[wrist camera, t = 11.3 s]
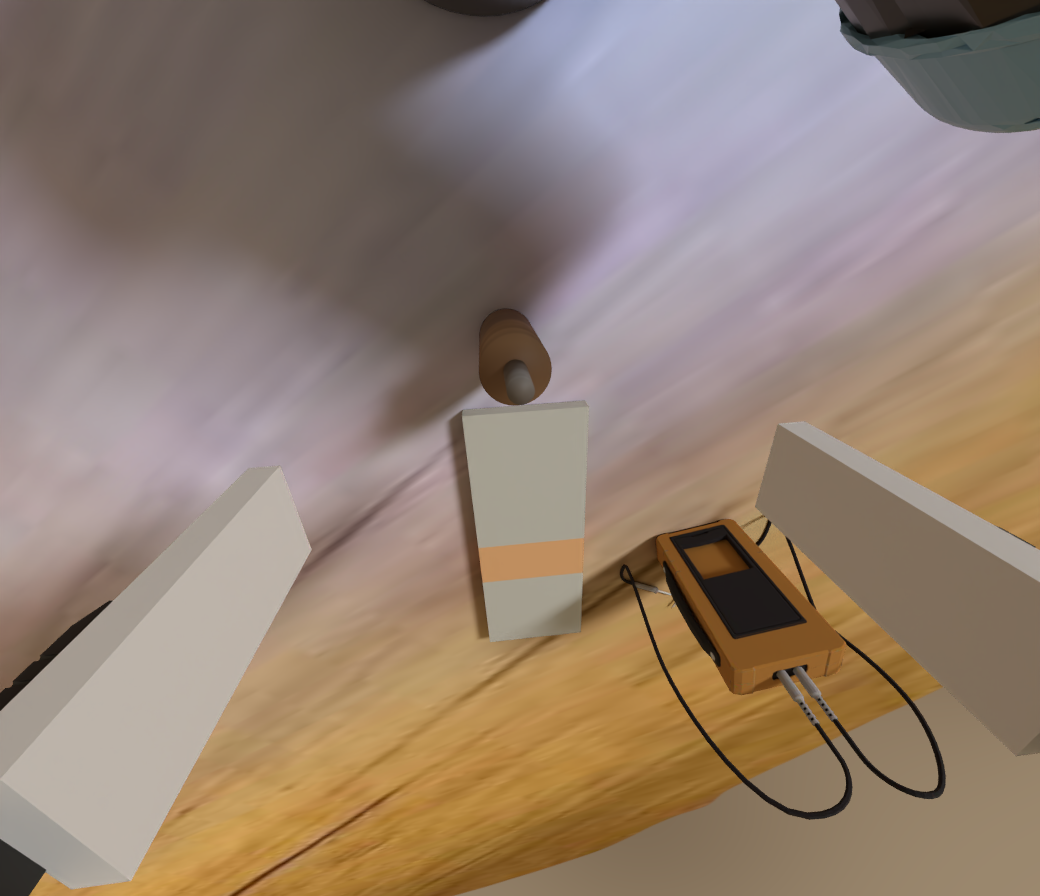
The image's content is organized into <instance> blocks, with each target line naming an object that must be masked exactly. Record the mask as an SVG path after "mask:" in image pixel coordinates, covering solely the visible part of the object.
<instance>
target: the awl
mask: <svg viewBox="0 0 1040 896" xmlns="http://www.w3.org/2000/svg"><path fill="white" fill-rule="evenodd" d="M551 370H552V368H551V361H550V358H549V355H548V353H547V351H546V349H545V348H544V346H543V344H542V343H541V341H540V339H539V338H538V336H537V334H536V333H535V331H534V329H533V328H532V326H531V324H530V322H529V321H528V319H527V318H526V317H525V316H524V315H523V314H521V313H520V312H518V311H516V310H512V309H500V310H497V311H495V312H493V313H491V314H490V315H489V316H488V317H487V318H486V319H485V320H484V322H483V324H482V326H481V329H480V335H479V376H480V380H481V383H482V386H483V388H484V389H485V391H486V392H487V393H488V394H489V395H490V396H491V397H492V398H493V399H495V400H496V401H498V402H500V403H503V404H507V405H524V404H527V403H529V402H531V401H533V400H535V399H536V398H537V397H539V396H540V395H541V394H542V393H543V392H544V390H545V389H546V387H547V385H548V383H549V381H550V378H551Z"/></svg>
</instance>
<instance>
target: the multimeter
mask: <svg viewBox="0 0 1040 896" xmlns="http://www.w3.org/2000/svg"><path fill="white" fill-rule="evenodd" d="M771 523H772V522H770V521H769V522H768V525H767V527H766V530H765V532H764V534H763V536H762V537H761V539H760V540H759V542H758V543H757V544H755V543H754V542H753V540H752V539H751V538H750V537H749V536H748V535H747V534H746V533H745V532H744V531H743V530H742V529H741V528H740V526H739V525H738V524H737V523H736V522H735V521H734V520H731V519H725V520H720V521H718V522H717V523H713V524H708V525H704V526H700V527H696V528H692V529H688V530H683V531H679V532H675V533H671V534H668V533H666V534H663V535H659V536H658V537H657V539H656V547H657V558H658V561H659V562H660V564H661V566H662V568H663V570H664V573H665V574H666V582H667V584H668V587H669V589H670V592H671V594H670V593H667V592H664V591H660V590H658V588H657V587H652V586H648V585H645V584H641V583H637V582H634V579H633V577H632V574H631V572H630V570H629V568H628V566H627V565H625V564H624V565H623V566H622V568H621V571H620V577H621V579H622V580H623V581H624V582H626V583H628V584H631V585H633V588H634V591H635V594H636V597H637V600H638V603H639V606H640V609H641V612H642V615H643V618H644V621H645V624H646V627H647V630H648V633H649V636H650V639H651V641H652V644H653V647H654V650H655V652H656V655H657V657H658V660H659V662H660V664H661V667H662V669H663V671H664V673H665V675H666V677H667V679H668V681H669V683H670V685H671V686H672V688H673V690H674V692H675V693H676V695H677V697H678V699H679V700H680V702H681V704H682V705H683V707H684V708H685V710H686V711H687V713H688V715H689V716H690V718H691V719H692V721H693V722H694V724H695V725H696V726H697V728H698V729H699V731H700V732H701V733H702V735H703V736H704V738H705V739H706V740H707V742H708V743H709V744H710V745H711V747H712V748H713V749H714V750H715V752H716V753H717V754H718V755H719V756H720V758H721V759H722V760H723V761H724V763H725V764H726V765H727V766H728V767H729V768H730V769H731V770H732V771H733V772H734V773H735V774H736V775H737V776H738V777H739V778H740V779H741V780H742V781H743V783H744V784H746V785H747V786H748V787H749V788H750V789H752V790H753V791H754V792H755V793H756V794H758V795H759V796H760V797H761V798H762V799H764V800H765V801H766V802H768V803H769V804H771V805H773V806H775V807H777V808H778V809H780V810H782V811H783V812H785V813H787V814H789V815H792V816H797V817H801V818H805V819H809V820H810V819H822V818H827V817H830V816H833V815H836V814H838V813H839V812H841V811H842V810H844V808H845V807H846V806H847V805H848V803H849V801H850V798H851V795H852V780H851V776H850V772H849V769H848V767H847V765H846V763H845V761H844V759H843V758H842V757H841V755H840V754H839V752H838V751H837V749H836V748H835V747H834V745H833V744H832V742H831V741H830V739H829V738H828V736H827V735H826V734H825V732H824V731H823V729H822V728H821V726H820V725H819V721H818V720H817V719H816V717H815V716H814V714H812V711H811V710H810V709H809V707H808V706H807V704H805V701H804V700H803V699H804V697H803V695H802V694H801V692H800V691H799V690H798V688H797V687H796V685H795V684H794V683H795V682H799V681H800V682H801V683H802V685H803V686H804V688H805V689H806V690H807V692H808V693H809V694H810V696H811V697H812V698H815V700H816V701H817V702H818V704H819V705H820V706H821V708H822V709H823V711H824V712H825V713H826V715H827V716H828V717H829V719H830V720H831V721H832V722H834V724H835V725H836V726H837V728H838V729H839V730H840V732H841V733H842V735H843V736H844V737H845V739H846V740H847V741H848V743H849V744H850V745H851V747H852V748H853V750H854V751H855V752H856V754H857V755H858V756H859V758H860V759H861V760H862V761H863V763H864V764H865V765H866V766H867V767H868V768H869V769H870V770H871V771H872V772H873V773H875V774H876V775H877V776H878V777H879V778H881V779H882V780H884V781H885V782H886V783H888V784H889V785H891V786H893V787H895V788H896V789H898V790H900V791H902V792H905V793H906V794H909V795H912V796H915V797H919V798H924V799H934V798H938V797H939V796H941V794H943V791H944V788H945V779H946V778H945V769H944V764H943V760H942V756H941V753H940V751H939V748H938V745H937V742H936V740H935V738H934V736H933V734H932V732H931V729H930V728H929V726H928V724H927V722H926V721H925V719H924V717H923V716H922V714H921V713H920V711H919V710H918V708H917V707H916V705H915V704H914V703H913V702H912V700H911V699H910V698H909V697H908V695H907V694H906V693H905V692H904V691H903V690H902V689H901V688H900V687H899V686H898V684H897V683H896V682H895V681H894V680H893V679H892V678H891V677H890V676H889V675H888V674H887V673H885V672H884V671H883V670H882V669H881V668H880V667H879V666H878V665H877V664H876V663H874V662H873V661H872V660H871V659H870V658H869V657H868V656H866V655H865V654H864V653H863V652H862V651H860V650H859V649H858V648H857V647H855V646H854V645H853V644H851V643H850V642H849V641H848V640H846V639H845V638H844V637H843V636H841V635H840V634H839V633H838V632H837V631H835V630H834V629H833V628H832V627H831V626H830V625H829V623H828V622H827V621H826V620H825V619H824V618H823V617H822V616H821V615H820V614H819V612H818V611H817V610H816V607H815V605H814V603H813V600H812V597H811V595H810V592H809V589H808V586H807V584H806V581H805V578H804V575H803V573H802V570H801V567H800V564H799V562H798V559H797V556H796V553H795V551H794V548H793V545H792V543H791V541H790V540H789V539H788V538H787V537H786V536H785V537H786V539H787V542H788V545H789V547H790V550H791V552H792V555H793V558H794V561H795V564H796V566H797V569H798V572H799V575H800V578H801V581H802V583H803V586H804V589H805V592H806V595H807V597H808V600H809V601H808V600H807V599H806V598H805V597H804V596H803V595H802V594H801V593H800V592H799V590H798V589H797V588H796V587H795V586H794V585H793V584H792V583H791V582H790V581H789V579H788V578H787V577H786V576H785V575H784V574H783V573H782V572H781V571H780V570H779V568H778V567H777V566H776V565H775V564H774V563H773V562H772V561H771V560H770V559H769V558H768V557H767V555H766V554H765V553H763V551H762V550H761V549H760V548H759V547H758V546H759V545H760V544H761V543H762V541H763V540H764V538H765V537H766V535H767V533H768V531H769V528H770V526H771ZM624 568H626V570H627V572H628V574H629V577H630V579H631V581H628V580H626V579H625V578H624V577H623V571H624ZM637 588H640V589H644V590H648V591H651V592H654V593H657V592H660V593H664V594H667V595H672V597H673V600H674V601H675V603H674V604H673V606H672V607H671V608H673V607H674V606H675V605H677V607H678V609H679V610H680V612H681V614H682V616H683V618H684V619H685V621H686V623H687V625H688V627H689V628H690V630H691V632H692V633H693V635H694V636H695V638H696V639H697V641H698V642H699V644H700V645H701V647H702V648H703V650H704V651H705V652H706V653H707V654H708V655H709V656H710V657H711V658H712V659H713V661H714V663H715V665H716V667H717V668H718V670H719V672H720V674H721V676H722V677H723V679H724V681H725V683H726V685H727V686H728V688H729V690H730V691H731V692H732V693H733V694H738V695H745V694H751V693H753V692H755V691H759V690H764V689H768V688H773V687H777V686H781V685H784V687H785V688H786V690H787V691H788V693H789V694H790V696H791V697H792V699H793V700H794V701H795V702H797V703H798V704H799V706H800V707H801V709H802V710H803V711H804V713H805V714H806V716H807V717H808V719H809V720H810V722H811V723H812V725H813V726H815V727H816V728H817V730H818V731H819V733H820V734H821V735H822V737H823V738H824V740H825V741H826V743H827V744H828V746H829V747H830V748H831V750H832V751H833V753H834V754H835V756H836V757H837V759H838V760H839V762H840V763H841V765H842V767H843V770H844V772H845V777H846V790H845V793H844V796H843V798H842V799H841V801H840V802H839V803H838V804H837V805H835V806H834V807H832V808H830V809H827V810H824V811H820V812H808V813H807V812H803V811H798V810H794V809H790V808H787V807H785V806H784V805H782V804H780V803H778V802H777V801H775V800H773V799H771V798H769V797H768V796H767V795H765V794H764V793H763V792H762V791H760V790H759V789H758V788H757V787H756V786H754V785H753V784H752V783H751V782H750V781H748V780H747V779H746V778H745V777H744V776H743V775H742V774H741V773H740V772H739V770H738V769H737V768H736V767H735V766H734V765H733V764H732V763H731V762H730V761H729V760H728V759H727V758H726V757H725V755H724V754H723V753H722V752H721V751H720V749H719V748H718V747H717V746H716V745H715V743H714V742H713V741H712V740H711V739H710V737H709V736H708V734H707V733H706V732H705V730H704V729H703V728H702V726H701V725H700V723H699V722H698V721H697V719H696V718H695V716H694V715H693V713H692V712H691V710H690V709H689V707H688V706H687V704H686V702H685V701H684V699H683V698H682V696H681V694H680V693H679V691H678V689H677V687H676V686H675V684H674V682H673V680H672V678H671V676H670V675H669V673H668V671H667V669H666V667H665V664H664V662H663V660H662V658H661V655H660V653H659V650H658V648H657V645H656V642H655V640H654V637H653V634H652V631H651V628H650V626H649V623H648V620H647V617H646V614H645V611H644V608H643V605H642V602H641V599H640V596H639V593H638V590H637ZM846 645H848V646H849V647H850V648H851V649H853V650H854V651H855V652H856V653H858V654H859V655H860V656H861V657H862V658H864V659H865V660H866V661H867V662H868V663H869V664H870V665H872V666H873V667H874V668H875V669H876V670H877V671H878V672H879V673H880V674H881V675H882V676H883V677H884V678H885V679H886V680H887V681H888V682H889V683H890V684H891V685H892V686H893V687H894V688H895V689H896V690H897V691H898V692H899V693H900V694H901V696H902V697H903V698H904V699H905V700H906V702H907V703H908V704H909V705H910V707H911V708H912V710H913V711H914V713H915V714H916V716H917V717H918V719H919V721H920V722H921V724H922V726H923V728H924V730H925V732H926V734H927V736H928V738H929V741H930V743H931V746H932V749H933V751H934V754H935V758H936V762H937V766H938V775H939V777H938V786H937V788H936V789H935V790H934V791H929V792H920V791H915V790H912V789H909V788H906V787H904V786H902V785H900V784H898V783H896V782H894V781H893V780H891V779H889V778H888V777H886V776H885V775H884V774H882V773H881V772H880V771H879V770H878V769H876V768H875V767H874V766H873V765H872V764H871V763H870V762H869V761H868V760H867V759H866V757H865V756H864V755H863V754H862V752H861V751H860V750H859V748H858V747H857V746H856V744H855V743H854V741H853V740H852V739H851V737H850V736H849V735H848V733H847V732H846V731H845V729H844V728H843V727H842V725H841V724H840V723H839V721H838V718H837V717H836V716H835V715H834V713H833V711H832V710H830V707H829V706H828V705H827V704H826V702H825V701H824V700H823V698H822V697H821V692H820V691H819V689H818V688H817V687H816V685H815V684H814V683H813V681H812V680H811V679H812V678H817V677H821V676H826V677H827V676H830V675H833V674H836V673H837V672H838V671H840V670H841V666H842V661H843V657H844V653H845V650H846Z"/></svg>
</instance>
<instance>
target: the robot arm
mask: <svg viewBox="0 0 1040 896" xmlns="http://www.w3.org/2000/svg"><path fill="white" fill-rule="evenodd" d="M425 1H427V2H429V3H431V4H433V5H435V6H438V7H440V8H443V9H446V10H449V11H452V12H456V13H460V14H466V15H473V16H495V15H502V14H508V13H512V12H516V11H519V10H522V9H525V8H527V7H529V6H532V5H534V4H536V3H538V2H540V1H542V0H425ZM835 1H836V2H837V4H838V5H839V7H840V12H839V16H840V21H841V29H840V32H841V33H842V35H843V36H844V37H845V39H846V40H847V42H848V43H849V44H850V45H851V46H852V47H853V48H854V49H856V50H858V51H860V52H862V53H864V54H866V55H870V56H875V57H876V58H877V59H878V60H879V61H880V63H881V64H882V65H883V66H884V67H885V68H886V69H887V70H888V71H889V73H890V74H891V75H892V76H893V77H894V78H895V79H896V80H897V82H898V83H899V84H900V85H901V86H902V87H903V88H904V89H905V91H906V92H907V93H908V94H909V95H910V96H911V97H912V98H913V99H914V101H915V102H916V103H917V104H918V105H919V106H920V107H921V108H922V109H923V110H925V111H926V112H927V113H929V114H930V115H931V116H933V117H935V118H936V119H938V120H940V121H942V122H945V123H947V124H950V125H953V126H956V127H960V128H964V129H968V130H973V131H981V132H991V133H1011V132H1022V131H1031V130H1037V129H1040V0H835ZM755 507H756V508H757V509H758V510H759V511H760V512H761V513H762V514H763V515H764V516H765V517H766V518H767V519H768V520H769V521H770V522H772V523H773V524H774V525H775V526H776V527H777V528H778V529H779V530H780V531H781V532H782V533H783V534H784V535H785V536H786V537H787V538H788V539H789V540H790V541H791V542H792V543H793V544H795V545H796V546H797V547H798V548H799V549H800V550H801V551H802V552H803V553H804V554H805V555H806V556H807V557H808V558H809V559H810V560H811V561H812V562H813V563H814V564H815V565H817V566H818V567H819V568H820V569H821V570H822V571H823V572H824V573H825V574H826V575H827V576H828V577H829V578H830V579H831V580H832V581H833V582H834V583H835V584H836V585H837V586H838V587H840V588H841V589H842V590H843V591H844V592H845V593H846V594H847V595H848V596H849V597H850V598H851V599H852V600H853V601H854V602H855V603H856V604H857V605H858V606H859V607H860V608H862V609H863V610H864V611H865V612H866V613H867V614H868V615H869V616H870V617H871V618H872V619H873V620H874V621H875V622H876V623H877V624H878V625H879V626H880V627H881V628H882V629H883V630H885V631H886V632H887V633H888V634H889V635H890V636H891V637H892V638H893V639H894V640H895V641H896V642H897V643H898V644H899V645H900V646H901V647H902V648H903V649H904V650H905V651H907V652H908V653H909V654H910V655H911V656H912V657H913V658H914V659H915V660H916V661H917V662H918V663H919V664H920V665H921V666H922V667H923V668H924V669H925V670H926V671H927V672H928V673H930V674H931V675H932V676H933V677H934V678H935V679H936V680H937V681H938V682H939V683H940V684H941V685H942V686H943V687H944V688H945V689H946V690H947V691H948V692H949V693H950V694H952V695H953V696H954V697H955V698H956V699H957V700H958V701H959V702H960V703H961V704H962V705H963V706H964V707H965V708H966V709H967V710H968V711H969V712H970V713H971V714H973V715H974V716H975V717H976V718H977V719H978V720H979V721H980V722H981V723H982V724H983V725H984V726H985V727H986V728H987V729H988V730H989V731H990V732H992V733H993V735H994V736H996V737H997V738H998V739H999V740H1000V741H1001V742H1002V743H1003V744H1004V745H1005V746H1006V747H1007V748H1008V749H1009V750H1010V751H1011V752H1012V753H1013V754H1014V755H1015V756H1020V755H1028V754H1035V753H1040V550H1038V549H1036V548H1035V546H1033V545H1031V544H1029V543H1028V542H1026V541H1024V540H1022V539H1020V538H1018V537H1017V536H1015V535H1013V534H1011V533H1009V532H1007V531H1006V530H1004V529H1002V528H1000V527H997V526H995V525H993V524H991V523H989V522H987V521H985V520H983V519H982V518H980V517H978V516H976V515H974V514H973V513H971V512H969V511H967V510H965V509H963V508H962V507H960V506H958V505H956V504H954V503H952V502H951V501H949V500H947V499H945V498H943V497H942V496H940V495H938V494H936V493H934V492H932V491H931V490H929V489H927V488H925V487H923V486H921V485H920V484H918V483H916V482H914V481H912V480H910V479H909V478H907V477H905V476H903V475H901V474H900V473H898V472H896V471H894V470H892V469H890V468H889V467H887V466H885V465H883V464H881V463H879V462H878V461H876V460H874V459H872V458H870V457H869V456H867V455H865V454H863V453H861V452H859V451H858V450H856V449H854V448H852V447H850V446H848V445H847V444H845V443H843V442H841V441H839V440H838V439H836V438H834V437H832V436H830V435H828V434H827V433H825V432H823V431H821V430H819V429H817V428H816V427H814V426H812V425H810V424H808V423H806V422H793V423H781V424H778V425H777V429H776V432H775V436H774V440H773V443H772V447H771V451H770V454H769V458H768V462H767V465H766V469H765V473H764V476H763V480H762V483H761V487H760V491H759V494H758V498H757V502H756V505H755ZM311 550H312V549H311V547H310V544H309V541H308V539H307V536H306V533H305V531H304V528H303V525H302V523H301V520H300V517H299V515H298V512H297V509H296V507H295V504H294V501H293V499H292V496H291V493H290V491H289V488H288V485H287V483H286V480H285V477H284V475H283V472H282V469H281V467H280V466H270V467H258V468H248V469H247V470H246V471H245V472H244V473H243V474H242V475H241V476H240V477H239V478H238V479H237V480H236V481H235V482H234V483H233V484H232V485H231V486H230V487H229V488H228V489H227V490H226V491H225V492H224V493H223V494H222V495H221V496H220V497H219V498H218V499H217V500H216V501H215V502H214V503H213V504H212V505H211V506H210V507H209V508H208V509H206V510H205V511H204V512H203V513H202V514H201V515H200V516H199V517H198V518H197V519H196V520H195V521H194V522H193V523H192V524H191V525H190V526H189V527H188V528H187V529H186V530H185V531H184V532H183V533H182V534H181V535H180V536H179V537H178V538H177V539H176V540H175V541H174V542H173V543H172V544H171V545H170V546H169V547H168V548H167V549H166V550H165V551H164V552H163V553H162V554H160V555H159V556H158V557H157V558H156V559H155V560H154V561H153V562H152V563H151V564H150V565H149V566H148V567H147V568H146V569H145V570H144V571H143V572H142V573H141V574H140V575H139V576H138V577H137V578H136V579H135V580H134V581H133V582H132V583H131V584H130V585H129V586H128V587H127V588H126V589H125V590H124V591H123V592H122V593H121V594H120V595H119V596H118V597H117V598H116V599H114V600H113V601H108V602H107V603H105V604H104V605H102V606H101V607H99V608H98V609H96V610H95V611H93V612H92V613H90V614H89V615H87V616H86V617H84V618H83V619H81V620H80V621H78V622H77V623H75V624H74V625H72V626H71V627H70V628H69V629H68V630H67V631H66V632H65V633H64V634H63V635H62V636H60V637H59V638H58V639H57V640H56V641H55V642H54V643H53V644H52V645H51V646H50V647H49V648H48V649H47V650H46V651H45V652H43V653H42V654H41V655H40V657H41V658H40V660H39V661H35V662H33V663H32V664H31V665H30V666H29V667H27V668H26V669H25V670H24V671H23V672H22V673H21V674H20V675H19V676H18V677H17V678H16V679H15V680H14V681H13V685H12V687H10V688H5V689H4V690H3V691H2V692H1V693H0V896H29V895H30V893H31V892H32V890H33V889H34V887H35V886H36V884H37V883H38V882H39V880H40V879H41V877H42V876H43V874H44V873H45V872H46V873H48V874H49V875H51V876H52V877H54V878H55V879H57V880H58V881H60V882H61V883H63V884H64V885H66V886H67V887H69V888H70V889H77V888H84V887H91V886H98V885H105V884H112V883H119V882H127V881H131V880H132V878H133V876H134V874H135V872H136V871H137V869H138V867H139V865H140V863H141V861H142V860H143V858H144V856H145V854H146V852H147V850H148V849H149V847H150V845H151V843H152V841H153V839H154V838H155V836H156V834H157V832H158V830H159V828H160V827H161V825H162V823H163V821H164V819H165V817H166V816H167V814H168V812H169V810H170V808H171V806H172V805H173V803H174V801H175V799H176V797H177V795H178V794H179V792H180V790H181V788H182V786H183V784H184V783H185V781H186V779H187V777H188V775H189V773H190V772H191V770H192V768H193V766H194V764H195V762H196V761H197V759H198V757H199V755H200V753H201V751H202V750H203V748H204V746H205V744H206V742H207V740H208V739H209V737H210V735H211V733H212V731H213V729H214V728H215V726H216V724H217V722H218V720H219V718H220V717H221V715H222V713H223V711H224V709H225V707H226V706H227V704H228V702H229V700H230V698H231V696H232V695H233V693H234V691H235V689H236V687H237V685H238V684H239V682H240V680H241V678H242V676H243V674H244V673H245V671H246V669H247V667H248V665H249V664H250V662H251V660H252V658H253V656H254V654H255V653H256V651H257V649H258V647H259V645H260V643H261V642H262V640H263V638H264V636H265V634H266V632H267V631H268V629H269V627H270V625H271V623H272V621H273V620H274V618H275V616H276V614H277V612H278V610H279V609H280V607H281V605H282V603H283V601H284V599H285V598H286V596H287V594H288V592H289V590H290V588H291V587H292V585H293V583H294V581H295V579H296V577H297V576H298V574H299V572H300V570H301V568H302V566H303V565H304V563H305V561H306V559H307V557H308V555H309V554H310V552H311Z"/></svg>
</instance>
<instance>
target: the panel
mask: <svg viewBox="0 0 1040 896" xmlns="http://www.w3.org/2000/svg"><path fill="white" fill-rule="evenodd" d="M588 416H589V406H588V405H587V403H586V401H573V402H560V403H547V404H534V405H521V406H508V407H495V408H482V409H469V410H463V411H462V421H463V429H464V437H465V445H466V453H467V461H468V469H469V477H470V485H471V493H472V501H473V509H474V517H475V525H476V533H477V541H478V549H479V557H480V565H481V573H482V582H483V590H484V598H485V606H486V614H487V622H488V630H489V638H490V642H495V641H504V640H514V639H523V638H532V637H541V636H550V635H559V634H568V633H577V632H581V611H582V583H583V555H584V527H585V499H586V472H587V444H588Z"/></svg>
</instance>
